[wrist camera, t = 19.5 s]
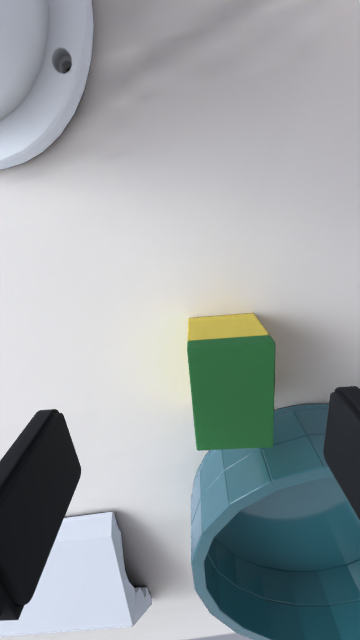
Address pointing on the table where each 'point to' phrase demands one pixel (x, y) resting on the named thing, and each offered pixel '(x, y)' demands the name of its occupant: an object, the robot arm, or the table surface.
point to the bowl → (277, 536)
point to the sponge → (231, 381)
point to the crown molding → (82, 583)
